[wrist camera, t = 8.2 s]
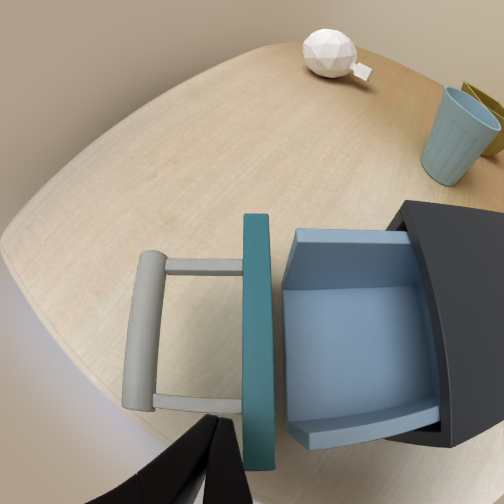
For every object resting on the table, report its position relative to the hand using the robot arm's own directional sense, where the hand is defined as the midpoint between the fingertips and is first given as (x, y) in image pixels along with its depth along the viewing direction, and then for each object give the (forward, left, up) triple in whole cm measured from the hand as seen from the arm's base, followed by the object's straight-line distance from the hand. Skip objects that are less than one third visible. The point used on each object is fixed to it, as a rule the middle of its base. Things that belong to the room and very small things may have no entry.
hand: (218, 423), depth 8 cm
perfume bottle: (+45, -15, -10) cm, 48 cm away
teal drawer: (+4, -5, -9) cm, 11 cm away
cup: (+24, -25, -10) cm, 35 cm away
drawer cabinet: (+4, -17, -10) cm, 19 cm away
